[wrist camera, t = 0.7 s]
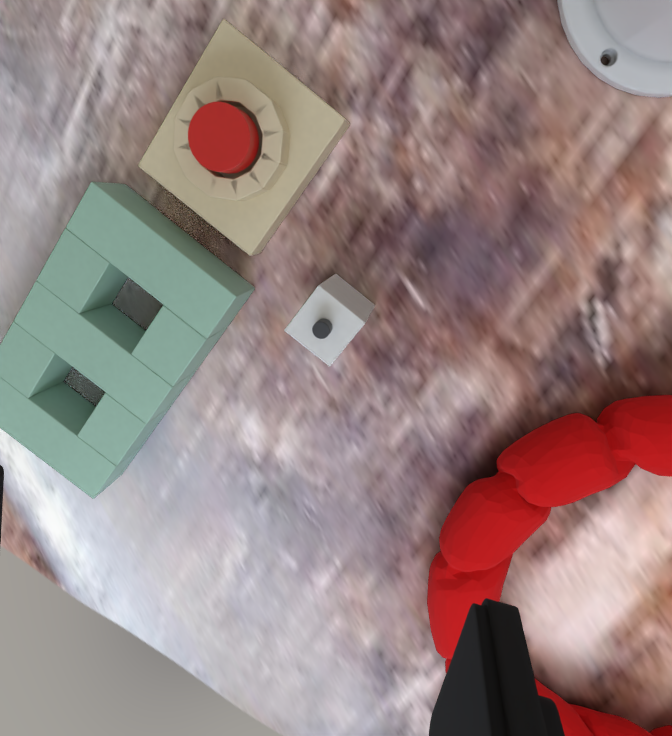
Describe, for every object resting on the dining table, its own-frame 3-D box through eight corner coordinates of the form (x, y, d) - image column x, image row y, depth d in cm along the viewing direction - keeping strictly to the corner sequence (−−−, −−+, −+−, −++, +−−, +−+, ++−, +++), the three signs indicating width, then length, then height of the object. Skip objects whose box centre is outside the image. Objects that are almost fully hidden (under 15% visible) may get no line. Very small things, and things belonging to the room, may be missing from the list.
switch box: (235, 29, 34) (211, 7, 30) (351, 124, 34) (341, 114, 31) (153, 168, 37) (121, 163, 33) (260, 253, 38) (240, 259, 34)
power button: (221, 93, 32) (210, 86, 30) (271, 133, 32) (262, 129, 30) (188, 147, 33) (175, 144, 31) (236, 186, 33) (226, 185, 31)
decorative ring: (333, 597, 38) (631, 917, 38) (733, 295, 29) (1123, 715, 29) (353, 543, 45) (606, 815, 45) (682, 286, 36) (998, 626, 36)
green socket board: (125, 183, 38) (91, 180, 34) (255, 288, 38) (236, 296, 34) (7, 386, 44) (-33, 403, 40) (122, 474, 44) (93, 499, 40)
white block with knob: (335, 273, 37) (314, 287, 30) (375, 305, 37) (363, 326, 31) (305, 312, 38) (279, 334, 32) (344, 343, 38) (326, 371, 32)
